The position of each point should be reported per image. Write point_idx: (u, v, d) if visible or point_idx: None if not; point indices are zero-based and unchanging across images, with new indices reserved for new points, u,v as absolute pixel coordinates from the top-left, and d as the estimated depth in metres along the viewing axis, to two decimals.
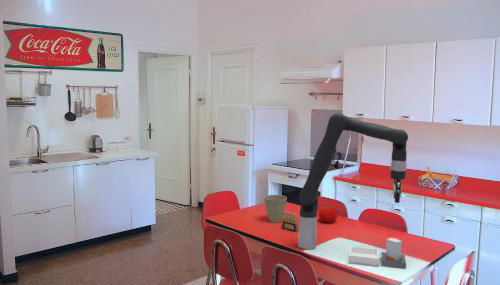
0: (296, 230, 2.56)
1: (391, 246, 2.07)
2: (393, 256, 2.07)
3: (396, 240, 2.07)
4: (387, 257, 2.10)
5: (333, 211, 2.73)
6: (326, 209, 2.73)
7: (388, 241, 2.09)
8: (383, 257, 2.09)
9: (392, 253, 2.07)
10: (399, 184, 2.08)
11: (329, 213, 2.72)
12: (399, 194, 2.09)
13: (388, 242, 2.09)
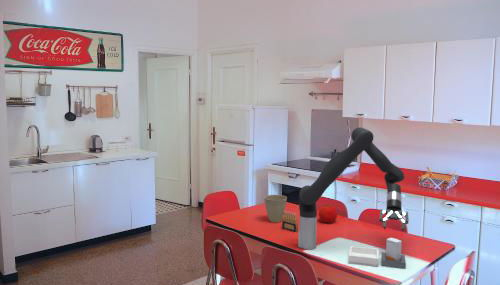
0: (296, 230, 2.56)
1: (391, 246, 2.07)
2: (393, 256, 2.07)
3: (396, 240, 2.07)
4: (387, 257, 2.10)
5: (333, 211, 2.73)
6: (326, 209, 2.73)
7: (388, 241, 2.09)
8: (383, 257, 2.09)
9: (392, 253, 2.07)
10: None
11: (329, 213, 2.72)
12: None
13: (388, 242, 2.09)
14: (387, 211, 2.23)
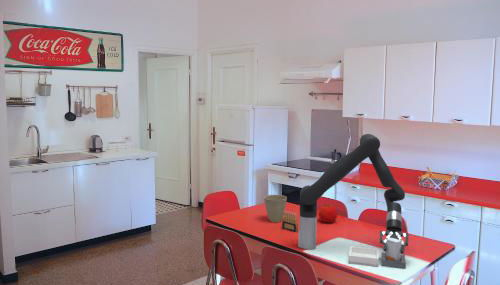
0: (296, 230, 2.56)
1: (391, 246, 2.07)
2: (393, 256, 2.07)
3: (396, 240, 2.07)
4: (387, 257, 2.10)
5: (333, 211, 2.73)
6: (326, 209, 2.73)
7: (388, 241, 2.09)
8: (383, 257, 2.09)
9: (392, 253, 2.07)
10: None
11: (329, 213, 2.72)
12: (407, 245, 2.09)
13: (388, 242, 2.09)
14: (387, 232, 2.13)
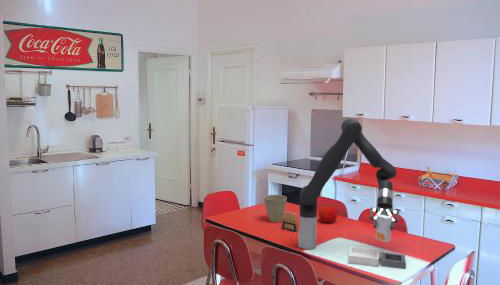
0: (296, 230, 2.56)
1: (381, 222, 2.07)
2: (383, 232, 2.07)
3: (386, 216, 2.08)
4: (377, 234, 2.10)
5: (333, 211, 2.73)
6: (326, 209, 2.73)
7: (378, 217, 2.09)
8: (383, 257, 2.09)
9: (382, 229, 2.07)
10: (398, 213, 2.12)
11: (329, 213, 2.72)
12: (397, 221, 2.09)
13: (378, 219, 2.09)
14: (377, 209, 2.14)
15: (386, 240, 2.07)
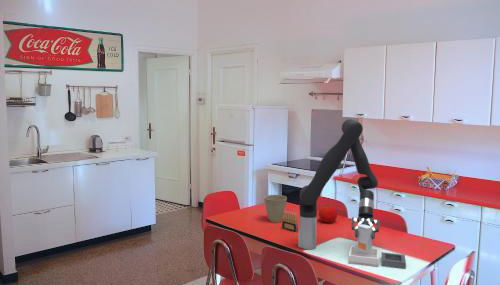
0: (296, 230, 2.56)
1: (362, 232, 2.11)
2: (364, 242, 2.10)
3: (367, 226, 2.11)
4: (359, 243, 2.13)
5: (333, 211, 2.73)
6: (326, 209, 2.73)
7: (359, 227, 2.12)
8: (383, 257, 2.09)
9: (363, 239, 2.10)
10: None
11: (329, 213, 2.72)
12: (378, 231, 2.12)
13: (359, 228, 2.12)
14: (359, 218, 2.17)
15: (367, 250, 2.10)
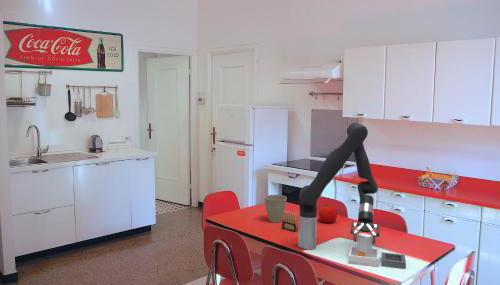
0: (296, 230, 2.56)
1: (362, 241, 2.11)
2: (364, 250, 2.11)
3: (367, 235, 2.11)
4: (358, 252, 2.14)
5: (333, 211, 2.73)
6: (326, 209, 2.73)
7: (359, 236, 2.13)
8: (383, 257, 2.09)
9: (363, 247, 2.11)
10: None
11: (329, 213, 2.72)
12: (379, 235, 2.13)
13: (359, 237, 2.13)
14: (358, 223, 2.17)
15: None
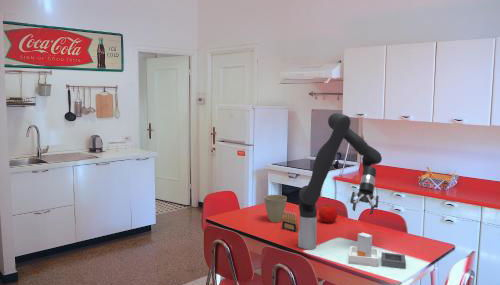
0: (296, 230, 2.56)
1: (362, 241, 2.11)
2: (364, 250, 2.11)
3: (367, 235, 2.11)
4: (358, 252, 2.14)
5: (333, 211, 2.73)
6: (326, 209, 2.73)
7: (359, 236, 2.13)
8: (383, 257, 2.09)
9: (363, 247, 2.11)
10: None
11: (329, 213, 2.72)
12: None
13: (359, 237, 2.13)
14: (359, 194, 2.29)
15: None
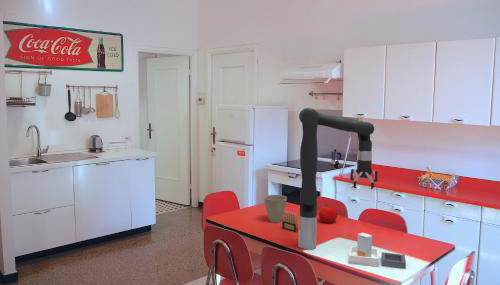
0: (296, 230, 2.56)
1: (362, 241, 2.11)
2: (364, 250, 2.11)
3: (367, 235, 2.11)
4: (358, 252, 2.14)
5: (333, 211, 2.73)
6: (326, 209, 2.73)
7: (359, 236, 2.13)
8: (383, 257, 2.09)
9: (363, 247, 2.11)
10: None
11: (329, 213, 2.72)
12: (377, 180, 2.28)
13: (359, 237, 2.13)
14: (357, 171, 2.29)
15: None
